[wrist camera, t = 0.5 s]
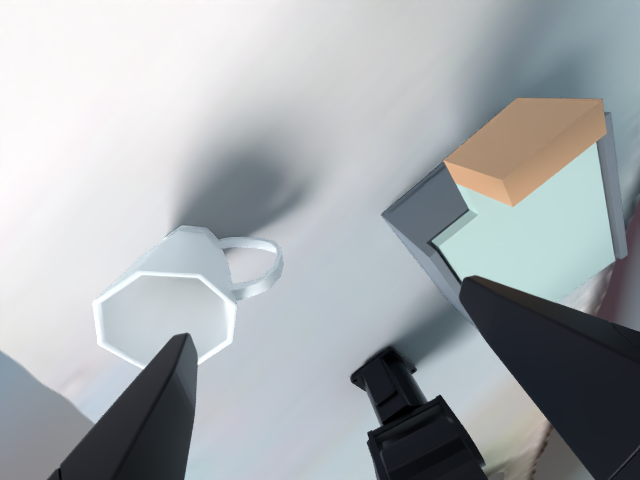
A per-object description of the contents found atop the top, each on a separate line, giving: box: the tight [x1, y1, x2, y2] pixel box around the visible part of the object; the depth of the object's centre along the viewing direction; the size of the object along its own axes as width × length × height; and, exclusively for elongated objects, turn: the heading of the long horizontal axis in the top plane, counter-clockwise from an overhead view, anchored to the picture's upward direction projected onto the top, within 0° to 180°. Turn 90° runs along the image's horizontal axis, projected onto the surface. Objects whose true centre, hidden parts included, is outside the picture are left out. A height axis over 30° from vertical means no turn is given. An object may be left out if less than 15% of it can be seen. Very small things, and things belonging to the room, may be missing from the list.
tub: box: [381, 112, 628, 331], centre depth 23 cm, size 14×13×7 cm
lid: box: [432, 98, 615, 303], centre depth 18 cm, size 18×11×4 cm, turn 40°
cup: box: [92, 225, 283, 369], centre depth 18 cm, size 7×10×8 cm
